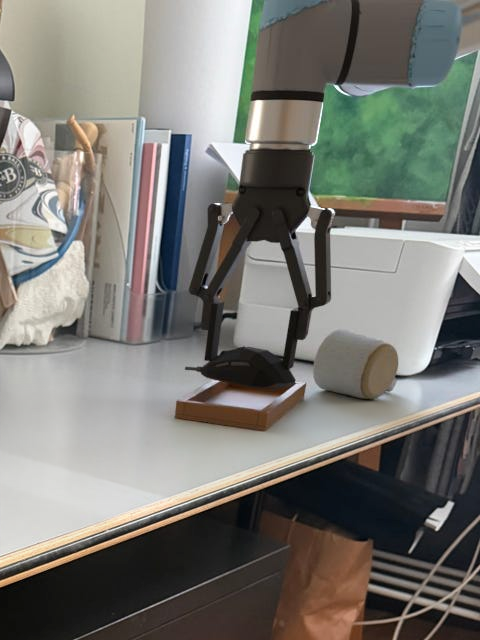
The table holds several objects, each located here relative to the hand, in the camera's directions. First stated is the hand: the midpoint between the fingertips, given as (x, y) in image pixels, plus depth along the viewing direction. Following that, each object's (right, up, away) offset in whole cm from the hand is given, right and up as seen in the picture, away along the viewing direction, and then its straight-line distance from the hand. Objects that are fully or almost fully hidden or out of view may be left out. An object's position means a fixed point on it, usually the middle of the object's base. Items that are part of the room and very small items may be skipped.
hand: (248, 363), depth 111 cm
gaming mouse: (-1, -2, +1) cm, 3 cm away
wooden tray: (0, -5, +2) cm, 5 cm away
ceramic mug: (+17, -1, +11) cm, 21 cm away
